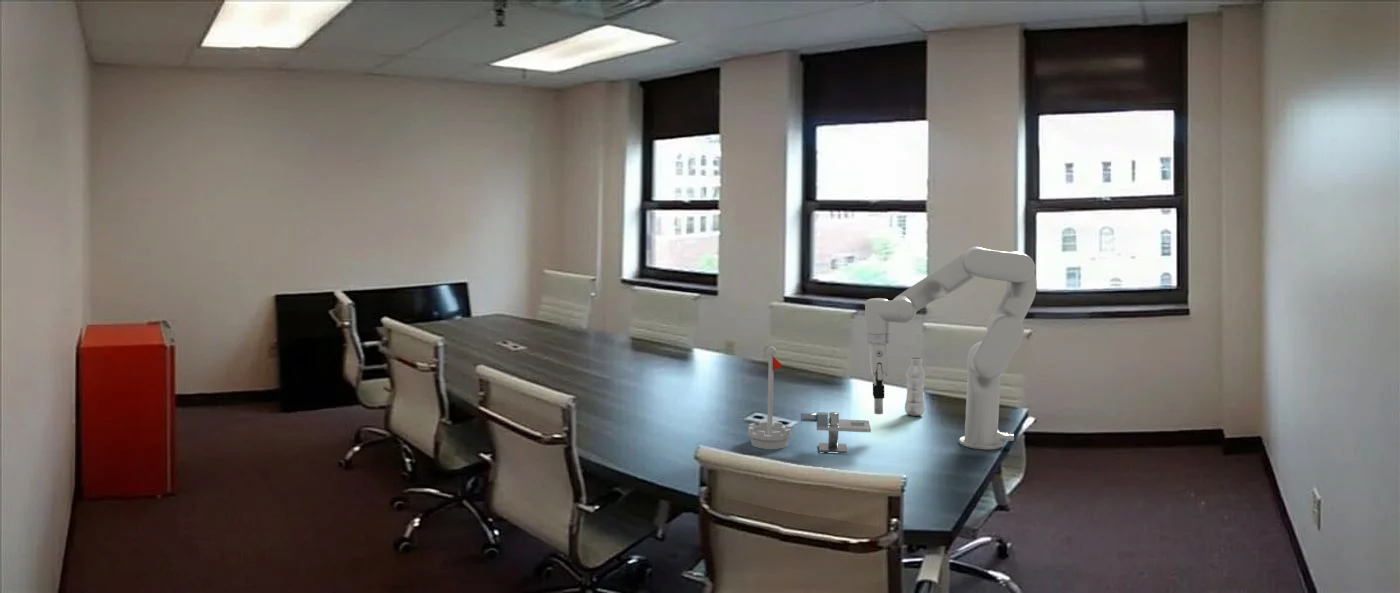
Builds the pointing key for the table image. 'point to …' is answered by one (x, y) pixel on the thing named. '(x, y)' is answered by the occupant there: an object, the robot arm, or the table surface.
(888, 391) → the table surface
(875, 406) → the pin
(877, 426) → the table surface
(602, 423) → the table surface
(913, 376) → the plastic bottle
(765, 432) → the flag stand
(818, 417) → the plate with square hole
